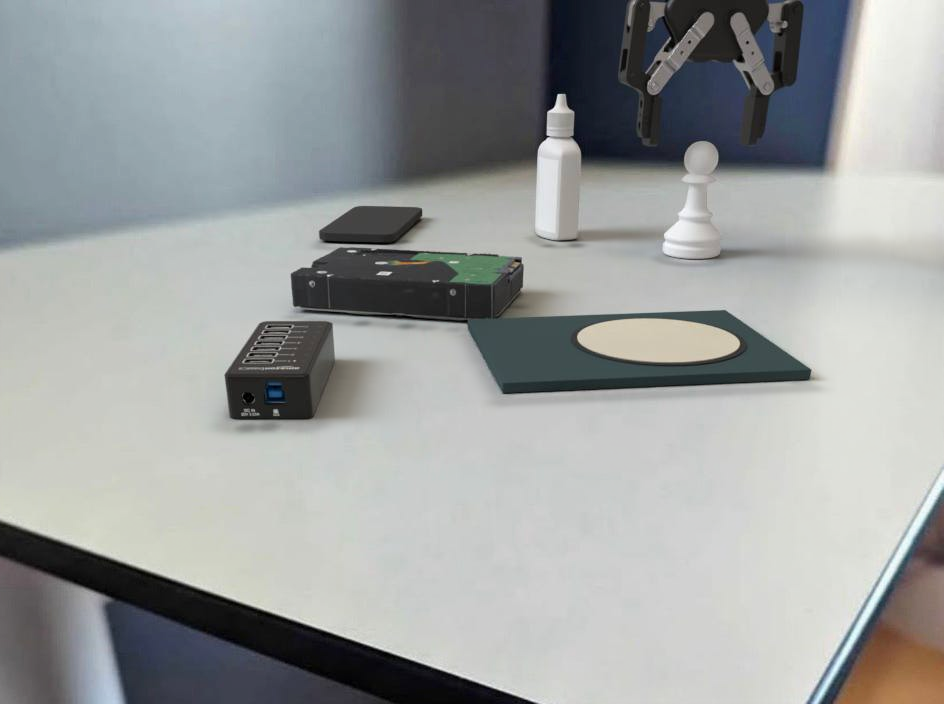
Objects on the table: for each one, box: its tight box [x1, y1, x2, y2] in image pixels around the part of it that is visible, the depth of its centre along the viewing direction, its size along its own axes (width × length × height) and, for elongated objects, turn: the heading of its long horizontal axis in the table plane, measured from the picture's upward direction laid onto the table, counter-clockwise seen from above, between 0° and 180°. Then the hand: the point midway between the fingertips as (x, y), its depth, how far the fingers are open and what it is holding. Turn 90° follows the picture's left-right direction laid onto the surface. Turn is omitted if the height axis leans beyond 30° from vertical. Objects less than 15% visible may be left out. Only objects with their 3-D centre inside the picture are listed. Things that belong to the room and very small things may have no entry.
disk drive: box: [290, 246, 525, 322], centre depth 75 cm, size 10×3×15 cm
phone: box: [318, 205, 423, 243], centre depth 100 cm, size 7×1×15 cm
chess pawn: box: [662, 140, 723, 260], centre depth 88 cm, size 5×5×9 cm
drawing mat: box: [467, 309, 812, 394], centre depth 64 cm, size 18×14×1 cm
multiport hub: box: [224, 320, 336, 420], centre depth 58 cm, size 4×11×2 cm, turn 0°
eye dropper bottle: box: [534, 93, 582, 241], centre depth 95 cm, size 4×6×12 cm
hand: (699, 145), depth 86 cm, fingers open, 8 cm apart
